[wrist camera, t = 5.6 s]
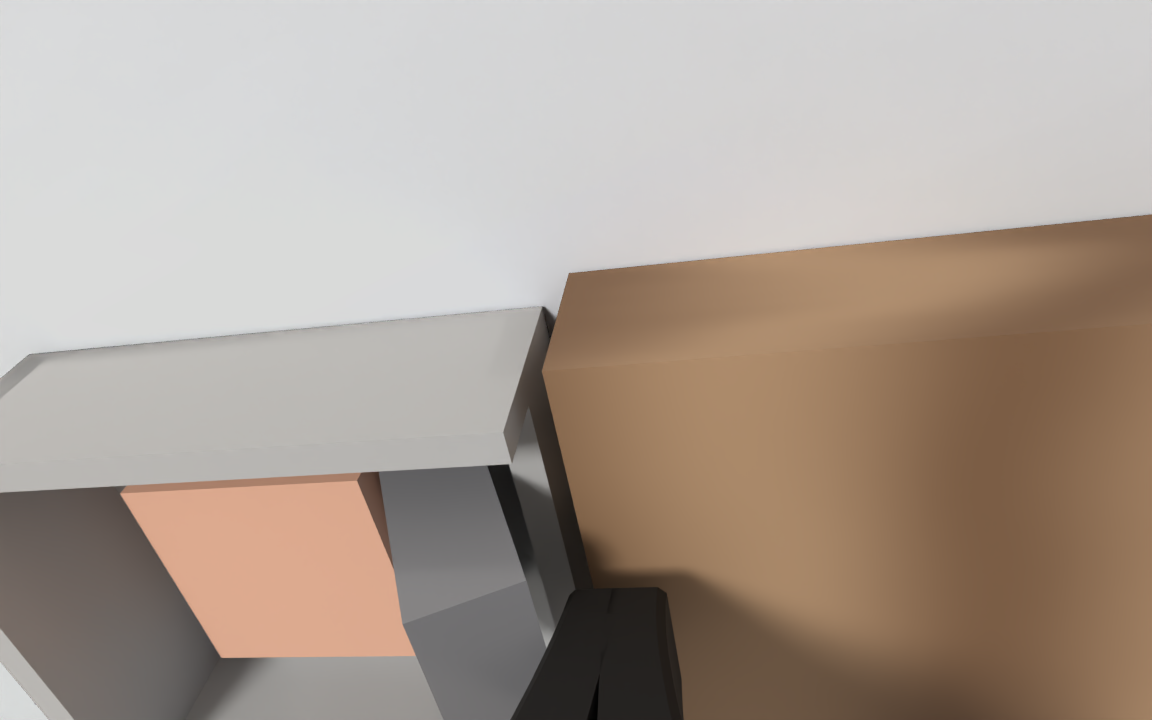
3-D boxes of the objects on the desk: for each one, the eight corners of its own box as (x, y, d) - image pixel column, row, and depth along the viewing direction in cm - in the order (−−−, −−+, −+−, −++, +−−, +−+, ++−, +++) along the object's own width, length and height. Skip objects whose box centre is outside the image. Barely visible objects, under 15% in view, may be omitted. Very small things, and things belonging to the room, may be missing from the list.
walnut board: (1574, 171, 10) (1803, 273, 8) (1357, 627, 14) (1469, 769, 12) (569, 272, 12) (541, 370, 10) (642, 636, 17) (634, 756, 14)
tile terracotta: (119, 493, 13) (169, 433, 15) (221, 657, 15) (257, 593, 17) (356, 481, 12) (388, 418, 14) (429, 656, 15) (450, 587, 16)
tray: (541, 306, 13) (495, 460, 10) (620, 653, 17) (603, 830, 14) (28, 354, 14) (-139, 495, 12) (217, 656, 19) (128, 814, 16)
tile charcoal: (526, 580, 10) (401, 624, 10) (583, 773, 12) (483, 813, 12) (466, 404, 13) (372, 433, 13) (520, 580, 15) (440, 608, 15)
